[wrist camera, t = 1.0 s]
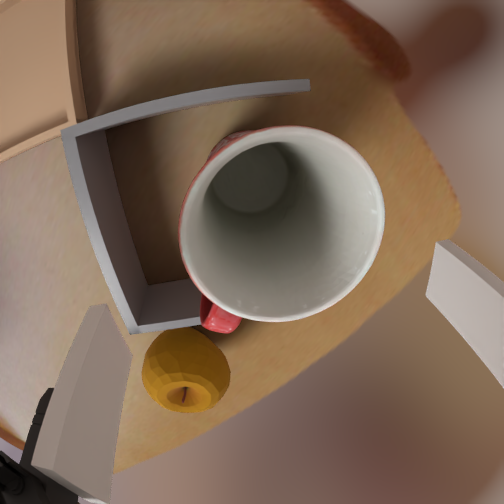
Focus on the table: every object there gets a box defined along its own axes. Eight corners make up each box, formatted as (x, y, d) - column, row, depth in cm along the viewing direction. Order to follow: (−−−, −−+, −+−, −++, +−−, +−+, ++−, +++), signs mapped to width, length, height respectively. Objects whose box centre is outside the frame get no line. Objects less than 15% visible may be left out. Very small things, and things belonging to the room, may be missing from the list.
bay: (141, 293, 28) (130, 334, 22) (92, 124, 20) (60, 130, 15) (301, 264, 29) (322, 300, 23) (285, 85, 21) (309, 78, 16)
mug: (226, 98, 21) (249, 80, 9) (320, 152, 24) (418, 198, 12) (158, 231, 25) (124, 338, 13) (248, 270, 28) (278, 383, 16)
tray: (-21, 174, 19) (-35, 181, 17) (-33, 38, 11) (-47, 37, 9) (89, 125, 20) (77, 127, 18) (76, -29, 12) (66, -39, 10)
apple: (241, 329, 31) (252, 394, 24) (200, 372, 34) (202, 433, 26) (171, 294, 28) (162, 361, 20) (136, 345, 31) (125, 408, 23)
